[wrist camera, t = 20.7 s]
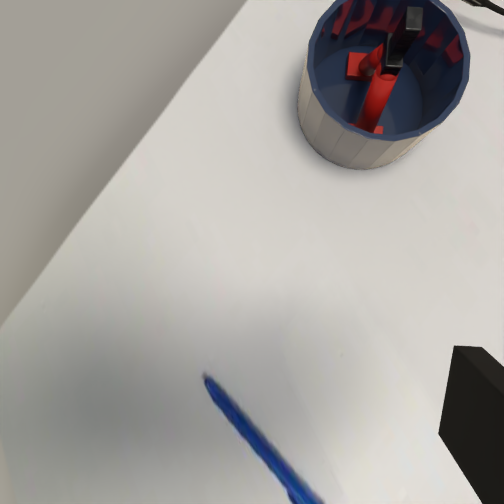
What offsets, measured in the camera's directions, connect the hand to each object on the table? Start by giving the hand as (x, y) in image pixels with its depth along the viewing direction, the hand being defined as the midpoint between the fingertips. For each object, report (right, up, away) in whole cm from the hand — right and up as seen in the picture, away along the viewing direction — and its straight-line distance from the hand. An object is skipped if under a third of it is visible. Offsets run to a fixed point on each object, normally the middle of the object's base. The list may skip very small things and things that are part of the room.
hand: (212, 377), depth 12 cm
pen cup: (+9, +15, +22) cm, 28 cm away
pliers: (+9, +15, +22) cm, 28 cm away
